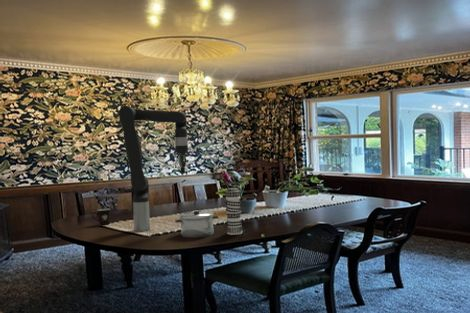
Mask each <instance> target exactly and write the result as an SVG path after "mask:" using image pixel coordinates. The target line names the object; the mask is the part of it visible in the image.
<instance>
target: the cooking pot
mask: <svg viewBox="0 0 470 313" xmlns="http://www.w3.org/2000/svg"><path fill="white" fill-rule="evenodd" d="M214 219H219V216H218V215H214V216H212V217H209V218H204V219H181V218H180V219H174V221H175V223H178V224H179V223H180V230H181V231H180V232H181V237H184V238H193V239H194V238H195V239H196V238H204V237H205V238H206V237H210V236H212V235H214V231H215V230H214Z"/></svg>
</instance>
